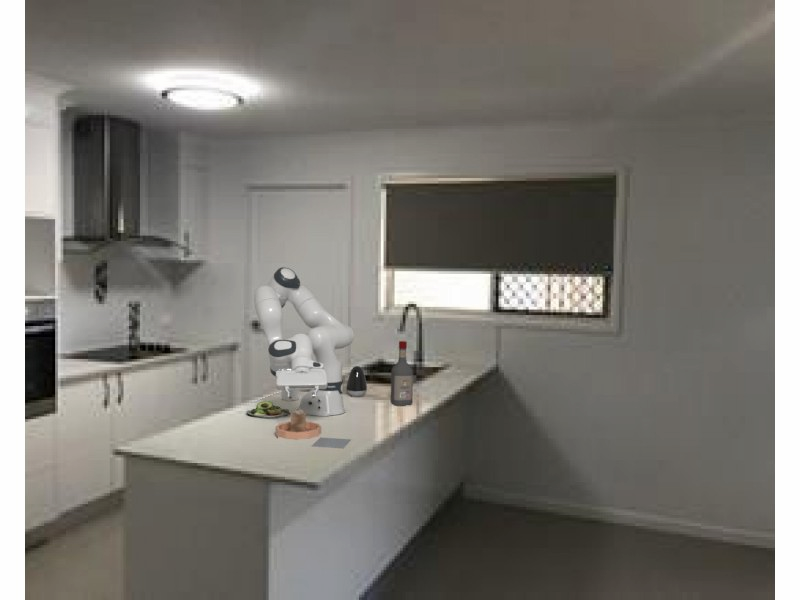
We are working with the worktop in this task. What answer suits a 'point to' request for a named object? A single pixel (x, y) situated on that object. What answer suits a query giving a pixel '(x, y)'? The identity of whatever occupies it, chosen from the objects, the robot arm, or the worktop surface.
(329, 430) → the worktop surface
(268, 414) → the salad plate
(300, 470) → the worktop surface
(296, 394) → the milk
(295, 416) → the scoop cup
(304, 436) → the bowl
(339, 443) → the parts tray
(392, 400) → the liquor
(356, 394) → the black egg-shaped dome
